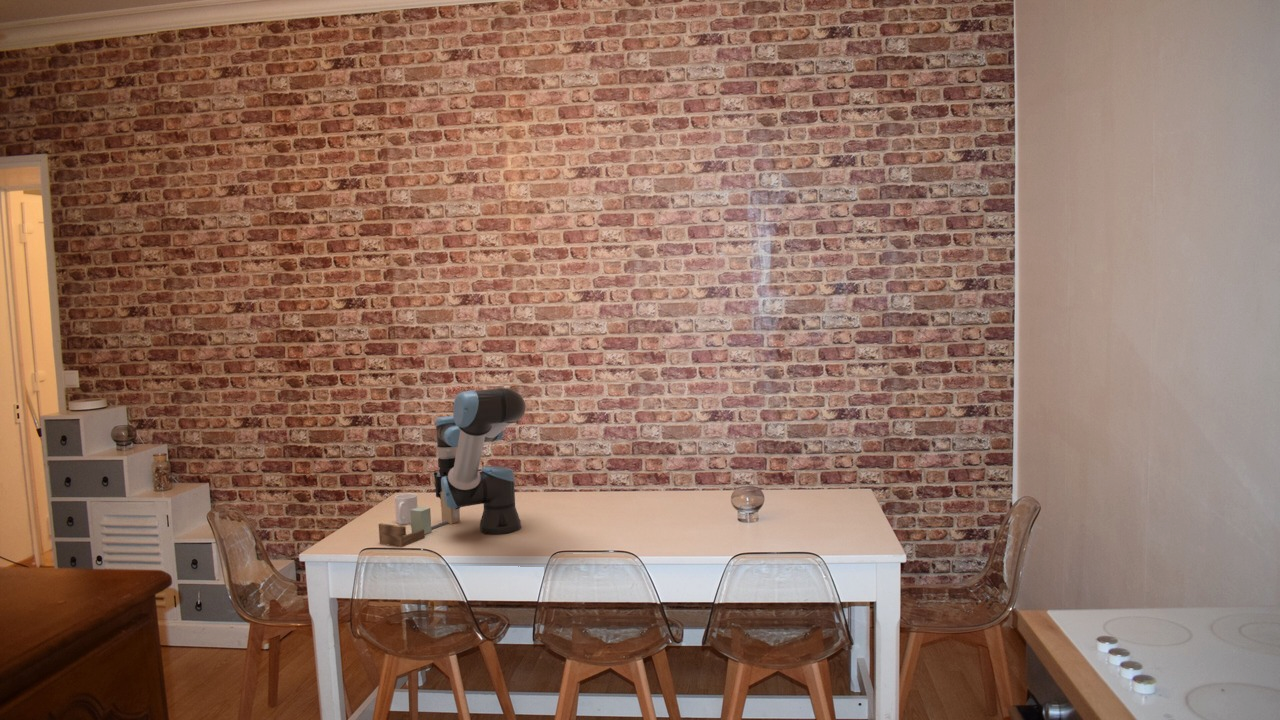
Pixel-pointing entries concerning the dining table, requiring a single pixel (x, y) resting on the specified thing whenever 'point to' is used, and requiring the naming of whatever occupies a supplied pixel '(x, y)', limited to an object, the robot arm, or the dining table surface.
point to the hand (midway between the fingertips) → (451, 516)
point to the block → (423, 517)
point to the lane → (398, 535)
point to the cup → (405, 507)
